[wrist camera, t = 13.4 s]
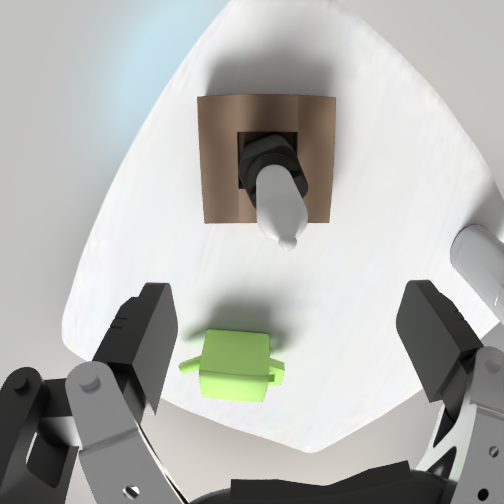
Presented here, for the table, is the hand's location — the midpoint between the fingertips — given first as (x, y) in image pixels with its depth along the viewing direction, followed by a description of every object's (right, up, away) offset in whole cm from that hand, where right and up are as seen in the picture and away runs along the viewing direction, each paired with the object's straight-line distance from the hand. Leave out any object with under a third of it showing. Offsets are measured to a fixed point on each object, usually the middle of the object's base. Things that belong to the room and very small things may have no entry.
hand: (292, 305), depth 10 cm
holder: (0, +14, +27) cm, 31 cm away
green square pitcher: (-5, -16, +43) cm, 46 cm away
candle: (+1, +14, +27) cm, 30 cm away
